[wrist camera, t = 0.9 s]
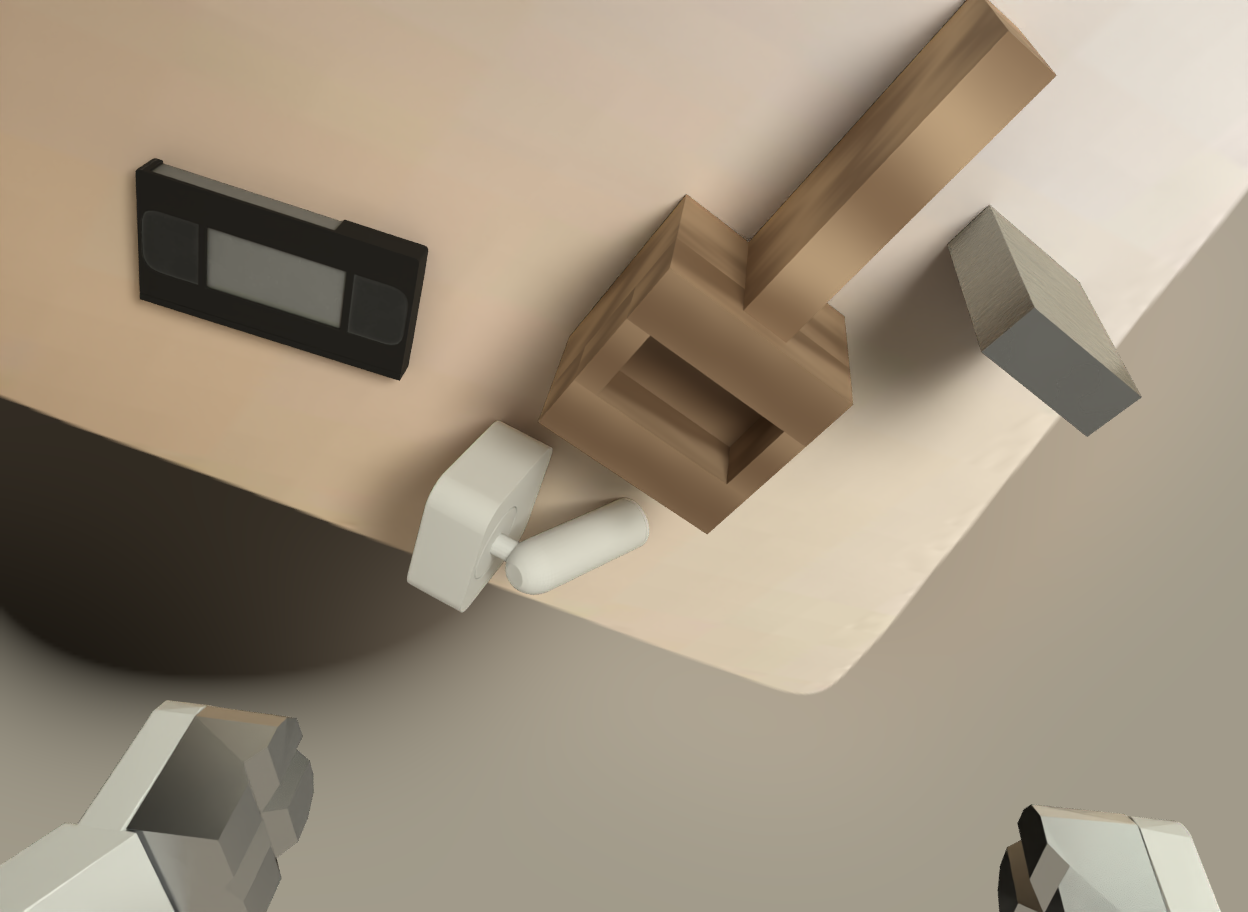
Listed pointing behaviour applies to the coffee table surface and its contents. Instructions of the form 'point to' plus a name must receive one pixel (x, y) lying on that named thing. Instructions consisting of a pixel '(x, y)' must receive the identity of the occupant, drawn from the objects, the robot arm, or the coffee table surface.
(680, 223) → the slotted wooden socket block
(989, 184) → the coffee table surface
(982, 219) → the grey wood block
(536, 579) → the wall hook
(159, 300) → the vhs tape
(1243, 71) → the coffee table surface
